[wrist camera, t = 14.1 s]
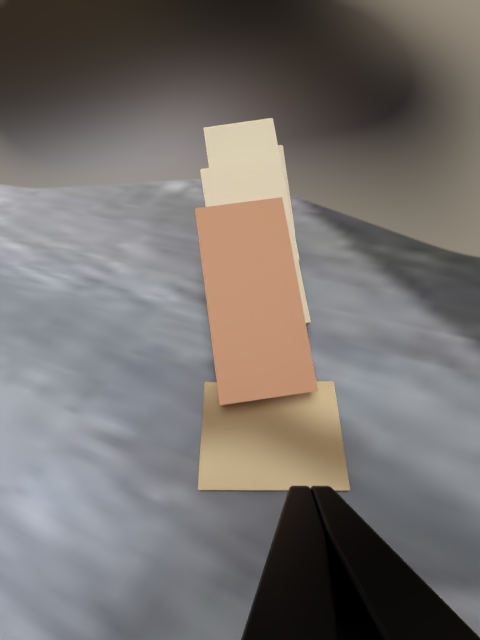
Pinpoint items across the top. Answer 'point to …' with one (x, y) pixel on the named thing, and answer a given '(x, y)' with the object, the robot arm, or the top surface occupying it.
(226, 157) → the ivory domino
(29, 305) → the top surface
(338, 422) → the birch pad
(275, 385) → the terracotta domino
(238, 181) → the ivory domino
